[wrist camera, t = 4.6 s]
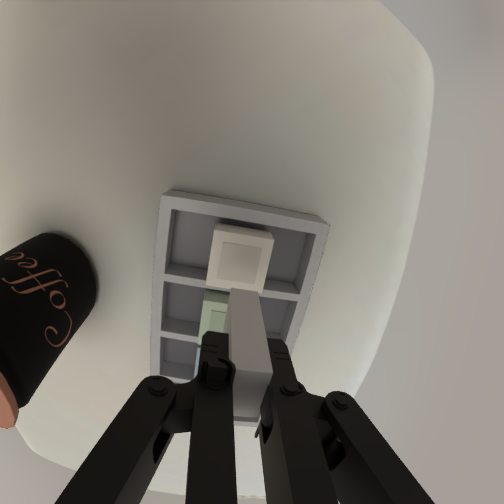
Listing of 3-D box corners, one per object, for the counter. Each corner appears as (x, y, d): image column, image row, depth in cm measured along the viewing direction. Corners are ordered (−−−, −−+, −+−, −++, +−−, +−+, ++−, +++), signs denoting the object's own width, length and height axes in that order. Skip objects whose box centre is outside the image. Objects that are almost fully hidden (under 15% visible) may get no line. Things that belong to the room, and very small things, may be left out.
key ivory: (215, 222, 24) (214, 230, 22) (270, 231, 25) (274, 240, 22) (207, 273, 25) (205, 285, 23) (259, 281, 26) (262, 294, 24)
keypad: (169, 189, 25) (161, 194, 22) (318, 216, 27) (330, 225, 24) (156, 394, 33) (151, 413, 30) (261, 408, 35) (263, 427, 32)
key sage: (205, 287, 26) (203, 301, 23) (256, 295, 26) (258, 309, 24) (199, 329, 27) (197, 345, 25) (246, 336, 28) (248, 352, 25)
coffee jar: (117, 301, 29) (40, 430, 12) (57, 327, 29) (-16, 428, 12) (70, 212, 25) (-62, 285, 8) (14, 252, 26) (-88, 326, 9)
